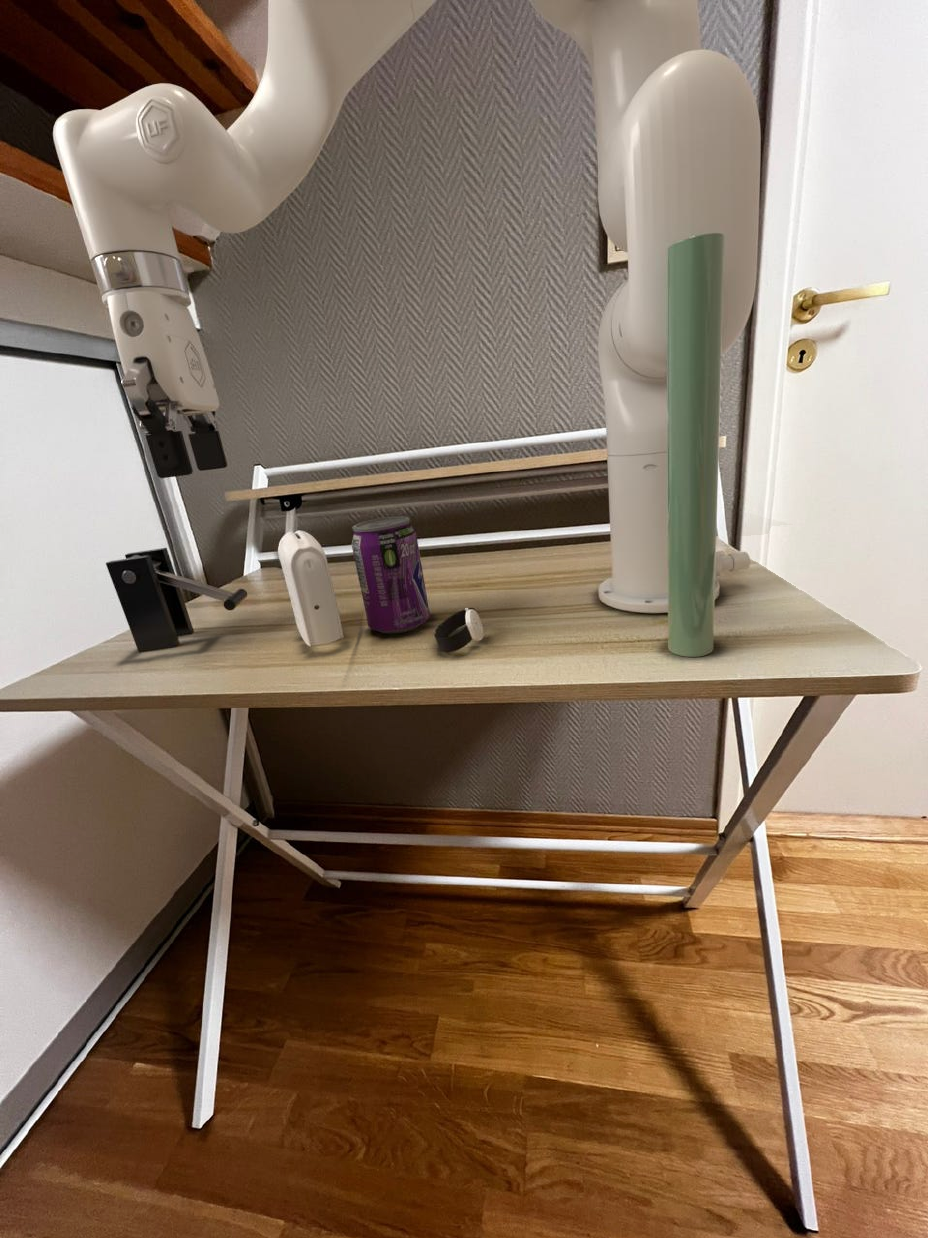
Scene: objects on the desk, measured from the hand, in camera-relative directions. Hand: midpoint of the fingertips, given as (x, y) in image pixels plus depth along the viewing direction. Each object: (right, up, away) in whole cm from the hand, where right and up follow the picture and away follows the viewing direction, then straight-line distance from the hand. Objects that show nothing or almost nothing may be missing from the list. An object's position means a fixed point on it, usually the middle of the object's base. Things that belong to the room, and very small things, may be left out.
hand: (196, 472), depth 56 cm
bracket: (-7, -19, +8) cm, 22 cm away
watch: (+28, -18, -2) cm, 33 cm away
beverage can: (+21, -16, +5) cm, 27 cm away
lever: (-4, -12, +6) cm, 14 cm away
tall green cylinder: (+48, -18, -10) cm, 52 cm away
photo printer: (+12, -18, +4) cm, 22 cm away
